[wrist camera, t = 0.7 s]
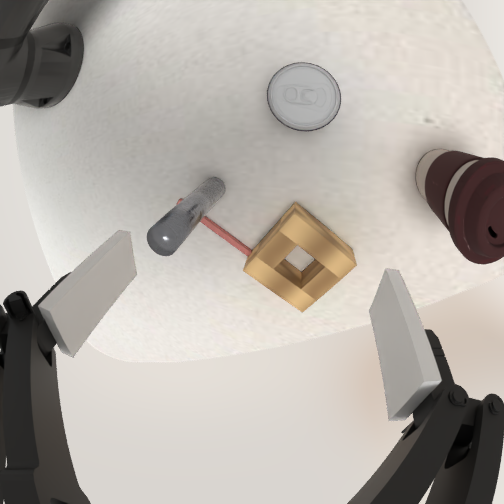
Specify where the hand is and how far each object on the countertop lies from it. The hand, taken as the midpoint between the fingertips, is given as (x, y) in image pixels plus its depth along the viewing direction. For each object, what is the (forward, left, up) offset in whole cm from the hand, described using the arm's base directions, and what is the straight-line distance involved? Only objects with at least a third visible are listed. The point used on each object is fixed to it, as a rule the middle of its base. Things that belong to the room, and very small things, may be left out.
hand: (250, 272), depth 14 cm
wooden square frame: (+9, -7, -22) cm, 24 cm away
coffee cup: (+15, +14, -22) cm, 30 cm away
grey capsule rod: (-5, -7, -22) cm, 23 cm away
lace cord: (-2, -11, -22) cm, 25 cm away
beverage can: (-3, +8, -22) cm, 24 cm away
